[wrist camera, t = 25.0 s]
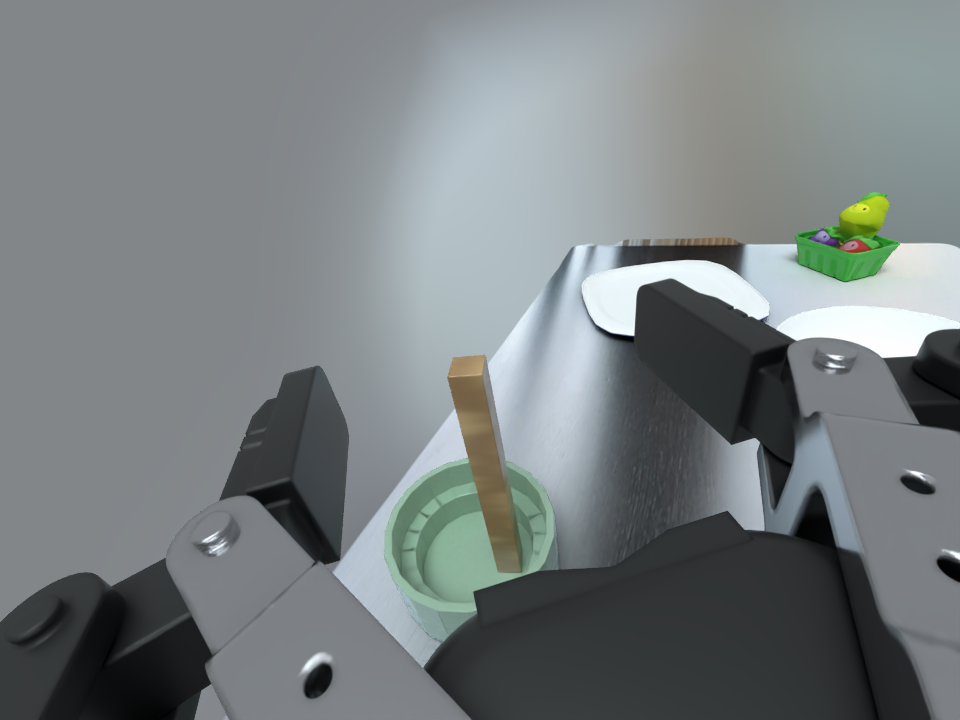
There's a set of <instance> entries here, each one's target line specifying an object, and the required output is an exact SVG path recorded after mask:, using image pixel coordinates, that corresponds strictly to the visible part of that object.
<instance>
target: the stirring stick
mask: <svg viewBox="0 0 960 720" xmlns="http://www.w3.org/2000/svg"><path fill="white" fill-rule="evenodd" d="M448 381H449V385H450V389H451V393H452V397H453V401H454V405H455V409H456V412H457V416H458V420H459V424H460V428H461V432H462V436H463V439H464V443H465V447H466V451H467V455H468V459H469V463H470V466H471V470H472V474H473V478H474V482H475V486H476V490H477V493H478V497H479V501H480V505H481V509H482V513H483V517H484V520H485V524H486V528H487V532H488V536H489V540H490V544H491V547H492V551H493V555H494V559H495V563H496V567H497V571H498V572H500V573H522V556H523V550H522V544H521V539H520V534H519V529H518V523H517V518H516V513H515V508H514V502H513V497H512V492H511V486H510V481H509V476H508V471H507V465H506V460H505V455H504V450H503V444H502V439H501V434H500V429H499V423H498V418H497V413H496V407H495V402H494V397H493V392H492V386H491V381H490V376H489V371H488V365H487V360H486V356H485V355H480V356H467V357H455V358H453V360H452V363H451V367H450V370H449V373H448Z"/></svg>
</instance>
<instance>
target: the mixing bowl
mask: <svg viewBox="0 0 960 720" xmlns="http://www.w3.org/2000/svg"><path fill="white" fill-rule="evenodd" d="M506 465H507V471H508V476H509V481H510V486H511V492H512V497H513V502H514V508H515V513H516V518H517V523H518V529H519V534H520V539H521V544H522V550H523V556H522V573H500V572H498V571H497V567H496V563H495V559H494V555H493V551H492V547H491V544H490V540H489V536H488V532H487V528H486V524H485V520H484V517H483V513H482V509H481V505H480V501H479V497H478V493H477V490H476V486H475V482H474V478H473V474H472V470H471V466H470V463H469V459H468V458H465V459H462V460H458V461H454V462H450V463H446V464H444V465H442V466H440V467H438V468H436V469H434V470H432V471H430V472H429V473H427V474H425V475H423V476H422V477H421V478H420V479H419V480H418V481H416V482H415V483H414V484H413V485H412V486H411V487H409V488H408V489H407V490H406V491H405V493H404V494H403V496H402V497H401V499H400V500H399V501H398V503H397V504H396V506H395V507H394V509H393V511H392V513H391V516H390V519H389V522H388V525H387V528H386V531H385V548H384V557H385V560H386V563H387V566H388V568H389V571H390V574H391V576H392V579H393V581H394V583H395V585H396V587H397V589H398V591H399V593H400V595H401V596H402V598H403V600H404V602H405V604H406V606H407V608H408V610H409V612H410V614H411V616H412V617H413V618H414V619H415V621H416V622H417V623H418V624H419V625H420V626H421V627H422V628H423V629H424V631H425V632H426V633H427V634H428V635H430V636H431V637H433V638H435V639H437V640H439V641H441V642H444V641H445V639H446V638H447V637H448V636H449V635H450V634H451V633H452V632H453V631H455V630H456V629H457V628H458V627H459V626H460V625H461V624H463V623H464V622H465V621H466V620H468V619H469V618H471V617H472V616H474V615H475V614H477V609H476V604H475V599H474V594H473V591H477V590H480V589H483V588H486V587H489V586H492V585H495V584H499V583H502V582H505V581H508V580H511V579H514V578H517V577H521V576H524V575H527V574H530V573H533V572H536V571H545V570H559V563H558V545H557V536H556V527H555V518H554V510H553V508H552V505H551V503H550V500H549V498H548V495H547V493H546V490H545V489H544V488H543V487H542V485H541V484H540V483H539V482H538V481H537V480H536V479H535V478H534V477H533V475H532V474H531V473H529V472H528V471H526V470H524V469H522V468H521V467H519V466H517V465H515V464H513V463H511V462H507V461H506Z"/></svg>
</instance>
